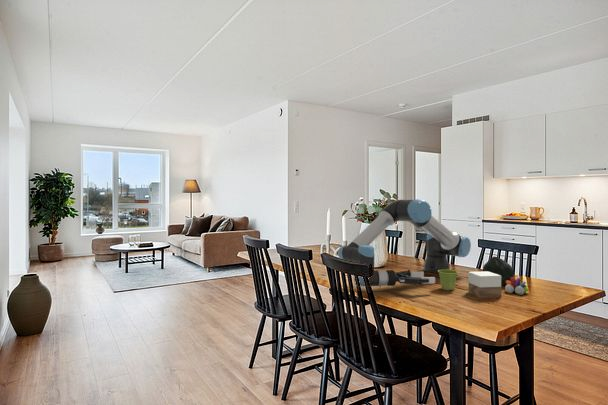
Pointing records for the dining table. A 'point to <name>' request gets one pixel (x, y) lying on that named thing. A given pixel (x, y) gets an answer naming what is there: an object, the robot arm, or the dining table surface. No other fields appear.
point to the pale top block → (484, 279)
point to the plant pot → (448, 279)
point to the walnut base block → (485, 291)
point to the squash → (499, 269)
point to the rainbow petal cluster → (516, 286)
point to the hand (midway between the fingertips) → (429, 277)
